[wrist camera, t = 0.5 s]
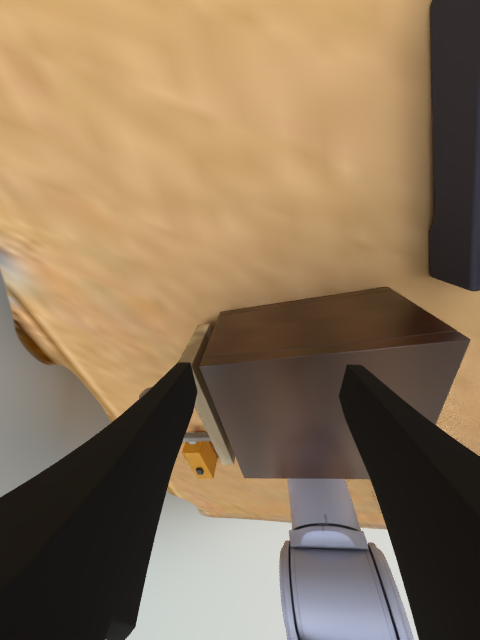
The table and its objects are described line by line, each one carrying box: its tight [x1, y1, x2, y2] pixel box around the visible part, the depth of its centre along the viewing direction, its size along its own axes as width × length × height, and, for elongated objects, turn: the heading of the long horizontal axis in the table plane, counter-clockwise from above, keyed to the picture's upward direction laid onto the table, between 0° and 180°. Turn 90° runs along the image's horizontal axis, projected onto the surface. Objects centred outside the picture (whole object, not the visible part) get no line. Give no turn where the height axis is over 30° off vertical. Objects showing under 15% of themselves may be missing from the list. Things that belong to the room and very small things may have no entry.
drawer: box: [139, 324, 235, 465], centre depth 19 cm, size 18×13×6 cm
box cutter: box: [182, 432, 217, 479], centre depth 29 cm, size 9×3×3 cm, turn 12°
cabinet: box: [199, 287, 470, 479], centre depth 18 cm, size 15×15×8 cm
